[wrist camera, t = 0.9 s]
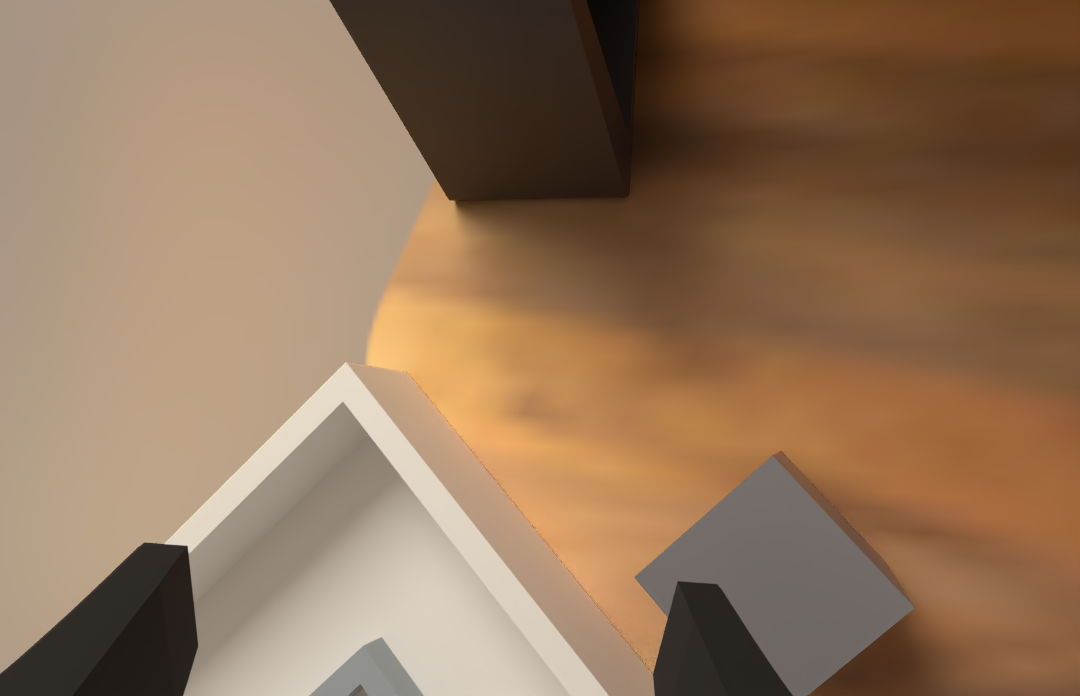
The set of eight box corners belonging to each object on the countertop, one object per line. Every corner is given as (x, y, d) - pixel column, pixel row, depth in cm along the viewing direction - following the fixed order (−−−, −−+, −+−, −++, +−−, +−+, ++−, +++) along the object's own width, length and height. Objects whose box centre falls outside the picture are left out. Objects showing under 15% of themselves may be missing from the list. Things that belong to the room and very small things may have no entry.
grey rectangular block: (883, 559, 24) (915, 608, 17) (774, 651, 24) (763, 731, 18) (780, 450, 25) (772, 455, 18) (678, 540, 25) (634, 577, 19)
